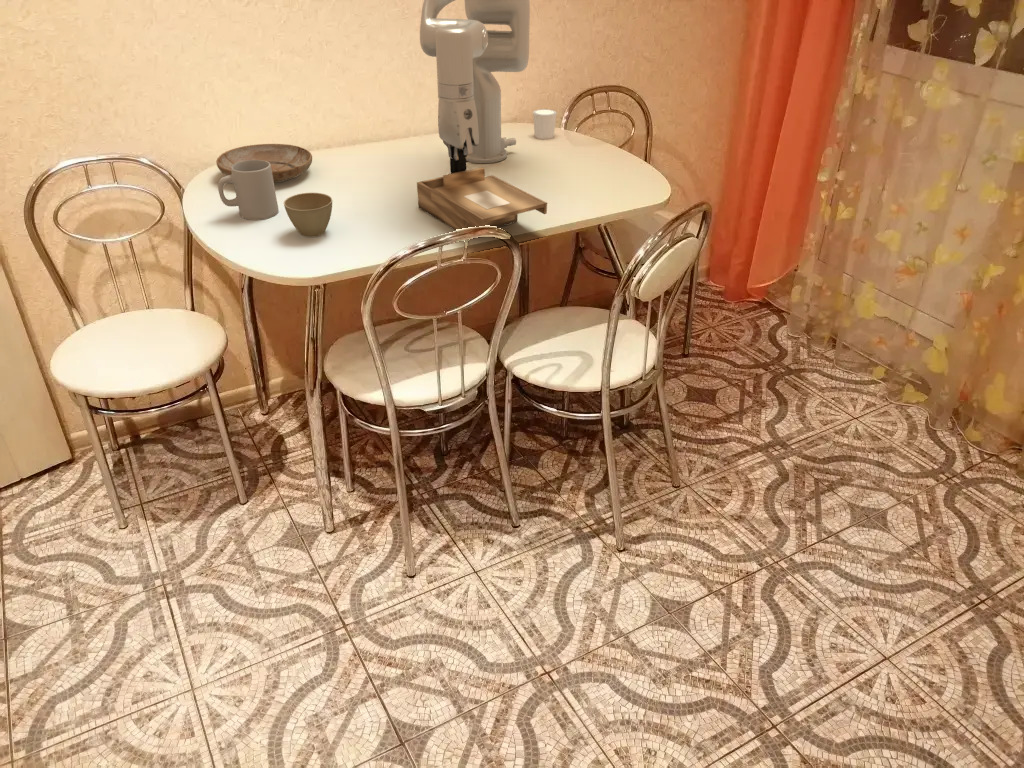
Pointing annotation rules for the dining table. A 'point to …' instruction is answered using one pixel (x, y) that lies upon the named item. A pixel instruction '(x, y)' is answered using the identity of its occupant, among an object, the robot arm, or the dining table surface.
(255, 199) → the mug
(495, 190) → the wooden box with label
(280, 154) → the shallow wooden bowl
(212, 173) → the dining table surface
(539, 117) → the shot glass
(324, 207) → the flower pot
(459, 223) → the wooden box base
